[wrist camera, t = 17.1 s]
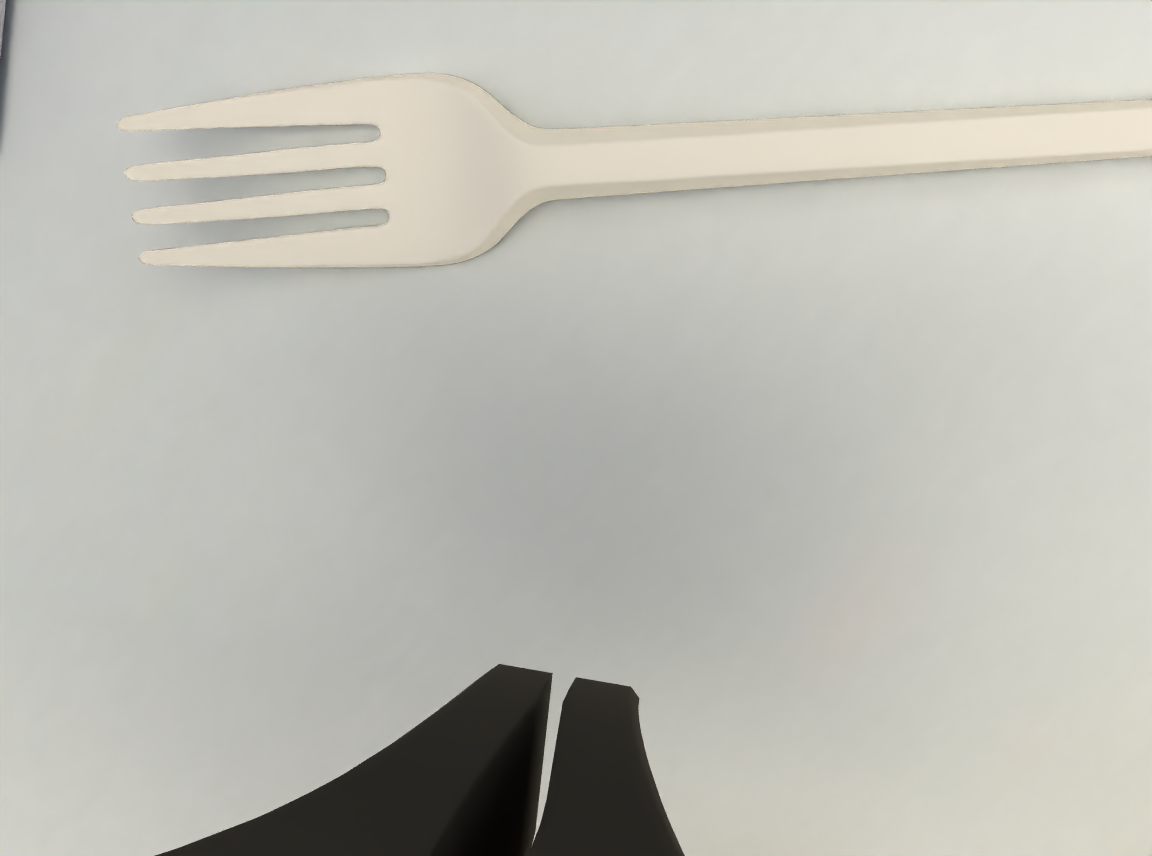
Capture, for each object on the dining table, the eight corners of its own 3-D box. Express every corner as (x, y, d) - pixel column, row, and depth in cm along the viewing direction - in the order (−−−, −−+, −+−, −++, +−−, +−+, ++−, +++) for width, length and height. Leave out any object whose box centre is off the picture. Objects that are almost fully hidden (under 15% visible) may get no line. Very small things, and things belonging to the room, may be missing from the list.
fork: (1403, 220, 17) (1479, 232, 15) (196, 276, 20) (142, 291, 18) (1432, -5, 16) (1516, -21, 14) (168, 92, 19) (108, 89, 18)
